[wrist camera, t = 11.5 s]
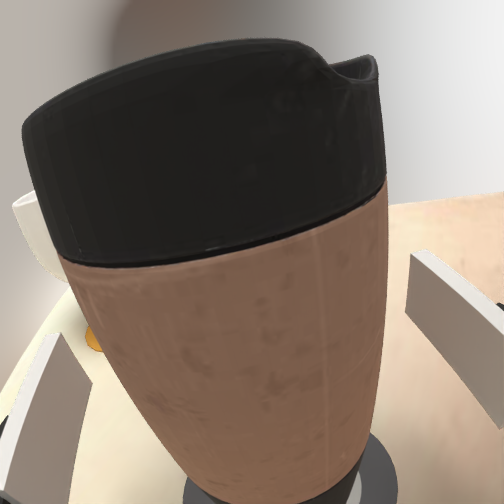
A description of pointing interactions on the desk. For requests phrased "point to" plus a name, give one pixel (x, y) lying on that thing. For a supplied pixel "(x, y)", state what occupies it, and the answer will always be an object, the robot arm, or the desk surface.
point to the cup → (42, 244)
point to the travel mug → (230, 254)
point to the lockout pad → (365, 486)
